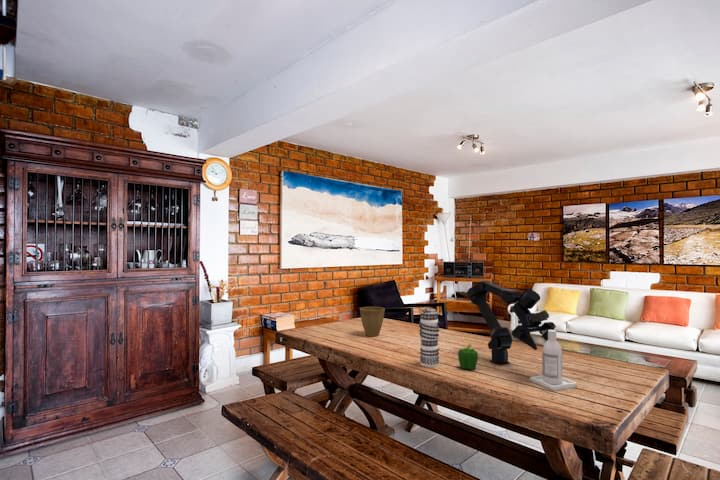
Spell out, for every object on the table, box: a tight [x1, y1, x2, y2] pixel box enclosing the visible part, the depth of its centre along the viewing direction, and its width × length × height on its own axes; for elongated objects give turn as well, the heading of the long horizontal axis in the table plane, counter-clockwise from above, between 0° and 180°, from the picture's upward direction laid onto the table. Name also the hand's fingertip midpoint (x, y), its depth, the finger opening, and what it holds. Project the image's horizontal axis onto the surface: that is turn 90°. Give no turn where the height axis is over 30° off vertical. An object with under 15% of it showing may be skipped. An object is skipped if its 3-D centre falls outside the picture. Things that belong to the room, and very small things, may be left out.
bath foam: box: [541, 329, 563, 385], centre depth 155 cm, size 7×7×20 cm
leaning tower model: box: [418, 307, 441, 368], centre depth 181 cm, size 9×9×25 cm
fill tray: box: [529, 374, 578, 392], centre depth 154 cm, size 12×12×2 cm
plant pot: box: [359, 306, 386, 338], centre depth 237 cm, size 15×15×16 cm
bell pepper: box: [457, 343, 479, 370], centre depth 175 cm, size 8×8×10 cm
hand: (545, 348), depth 158 cm, fingers open, 9 cm apart
